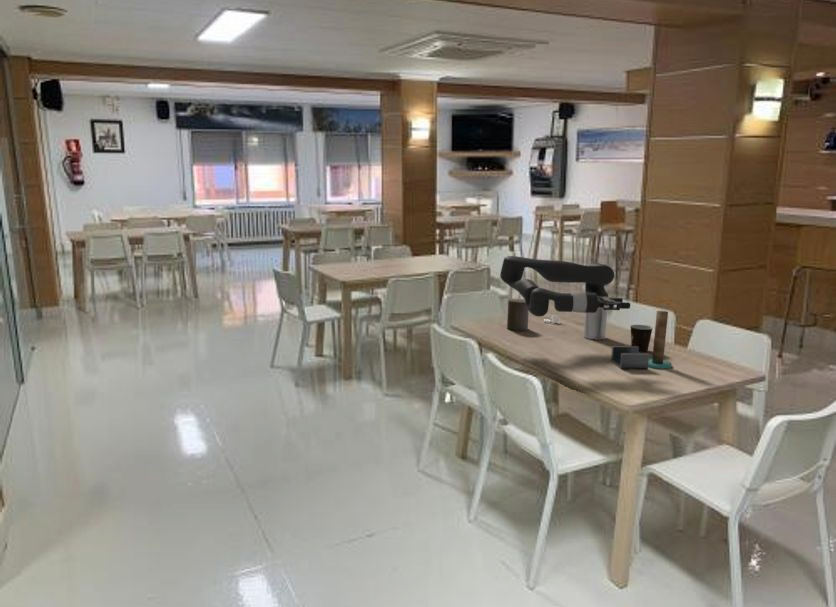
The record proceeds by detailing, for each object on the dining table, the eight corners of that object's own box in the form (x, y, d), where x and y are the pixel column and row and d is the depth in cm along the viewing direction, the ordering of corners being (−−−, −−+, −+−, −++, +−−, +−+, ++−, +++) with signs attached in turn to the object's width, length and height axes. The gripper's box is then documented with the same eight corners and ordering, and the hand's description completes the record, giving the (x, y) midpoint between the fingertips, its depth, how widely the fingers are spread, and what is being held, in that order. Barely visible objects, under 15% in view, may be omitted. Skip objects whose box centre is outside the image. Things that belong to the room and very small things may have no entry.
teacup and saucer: (541, 323, 313) (541, 315, 313) (550, 321, 319) (550, 313, 318) (556, 326, 308) (557, 318, 307) (565, 324, 313) (566, 315, 312)
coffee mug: (631, 346, 271) (633, 323, 269) (652, 349, 267) (654, 326, 265) (624, 352, 261) (626, 329, 260) (646, 356, 257) (648, 331, 255)
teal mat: (639, 361, 249) (639, 358, 249) (665, 361, 250) (665, 359, 249) (649, 368, 240) (649, 366, 239) (675, 369, 240) (675, 366, 240)
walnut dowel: (650, 361, 246) (655, 310, 242) (660, 361, 246) (665, 310, 242) (654, 364, 242) (659, 312, 238) (664, 364, 242) (669, 312, 238)
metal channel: (610, 360, 250) (612, 345, 249) (636, 361, 250) (637, 346, 249) (621, 369, 238) (622, 354, 237) (647, 370, 239) (649, 354, 237)
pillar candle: (508, 331, 295) (509, 299, 292) (505, 326, 304) (507, 295, 301) (529, 331, 295) (531, 299, 292) (526, 326, 304) (528, 295, 301)
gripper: (589, 296, 231) (633, 297, 232) (578, 289, 245) (620, 290, 246) (587, 316, 233) (631, 317, 233) (577, 308, 247) (619, 309, 247)
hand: (626, 303), depth 240 cm, fingers open, 8 cm apart
